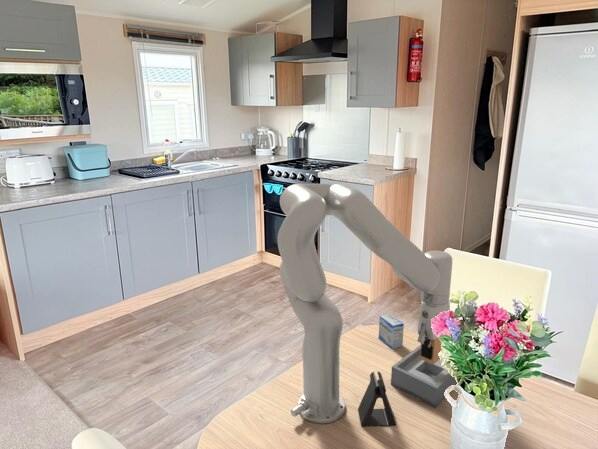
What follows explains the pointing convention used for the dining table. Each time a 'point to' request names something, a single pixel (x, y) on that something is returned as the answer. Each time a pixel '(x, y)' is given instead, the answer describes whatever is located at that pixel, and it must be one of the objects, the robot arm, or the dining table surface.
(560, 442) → the dining table surface
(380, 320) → the medicine box
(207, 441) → the dining table surface
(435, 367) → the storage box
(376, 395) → the black triangular stand
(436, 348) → the peg
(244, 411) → the dining table surface
